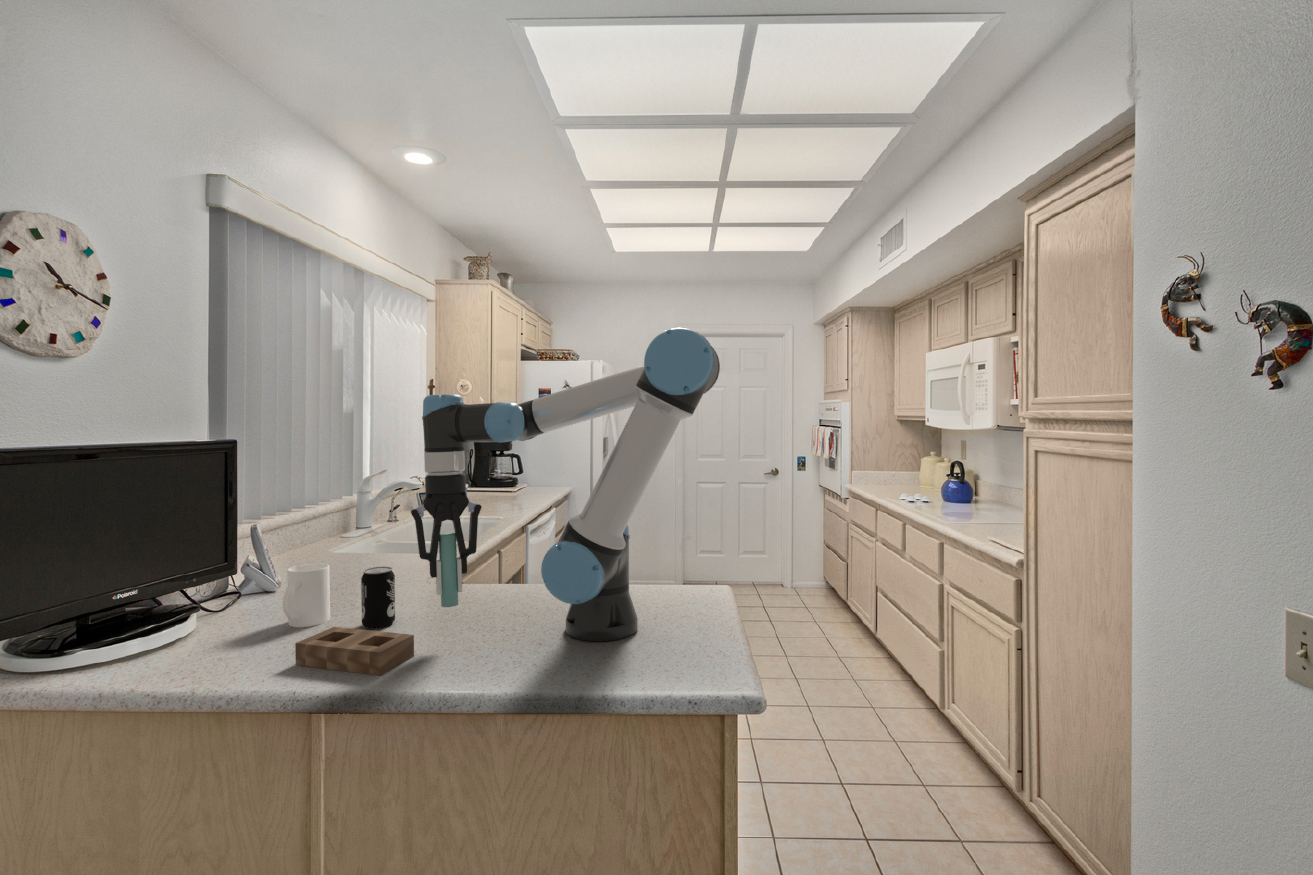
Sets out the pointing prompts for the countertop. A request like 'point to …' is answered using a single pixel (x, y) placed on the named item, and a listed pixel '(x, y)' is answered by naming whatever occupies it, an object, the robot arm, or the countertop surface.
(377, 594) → the beverage can
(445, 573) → the peg
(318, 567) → the mug
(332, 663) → the hole block
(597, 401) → the robot arm
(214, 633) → the countertop surface
